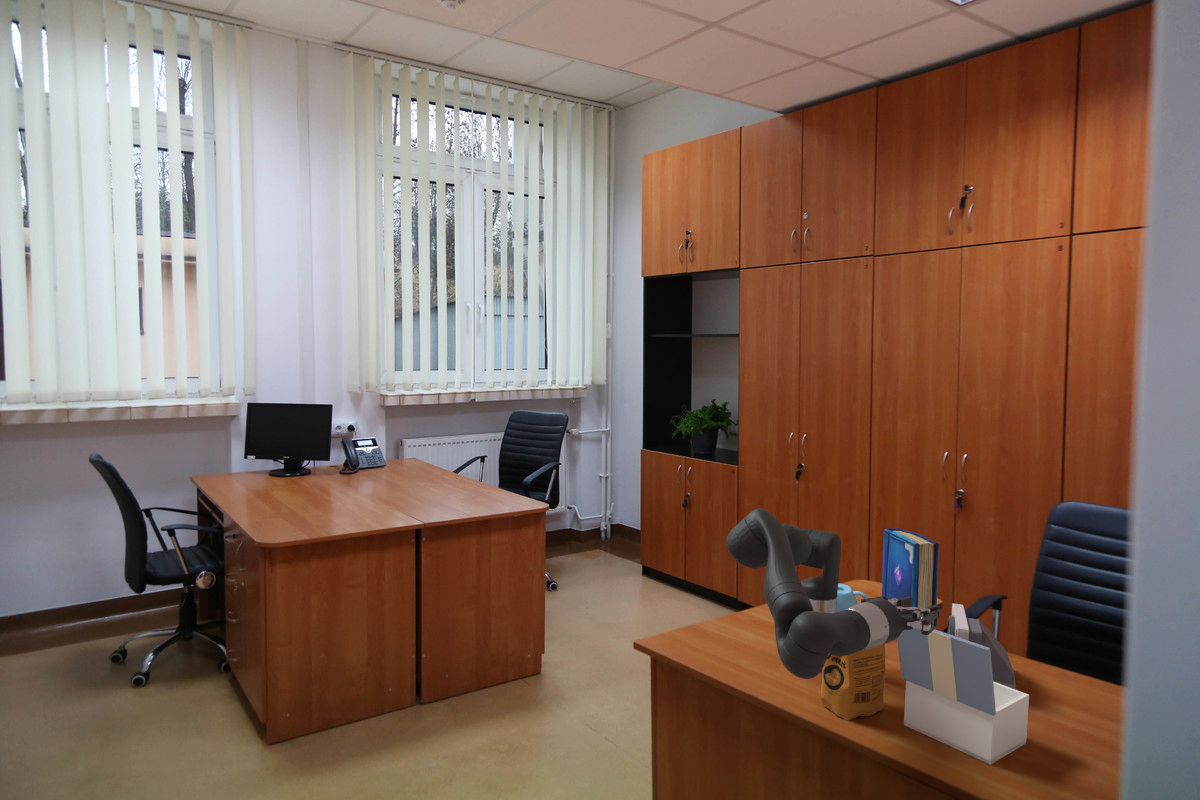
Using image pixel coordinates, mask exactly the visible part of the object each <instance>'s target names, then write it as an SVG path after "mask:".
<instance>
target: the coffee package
mask: <svg viewBox="0 0 1200 800" xmlns="http://www.w3.org/2000/svg"><path fill="white" fill-rule="evenodd" d="M821 672H822V674H821V676H822V677H821V688H820V700H821V705H822V706H823V707H824V708H825V709H826V708H827V709H828V710H830V711H831V712H832V713H834V714H835V716H836V717H839V718H842V719H844V720H846V721H851V720H853V719H856V718H857V717H859V716H860V717H861V716H863V717H871V716H873V715H875V714H876V713H877V712H880V711H883V709H884V694H885V683H886V682H885V680H886V679H885V678H886V643H885V644H882V645H880V646H877V647H874V648H871V649H867V650H861V651H858V652H856V653H853V654H850V655H846V656H835V655H832V654H830V653H829V655H828V658H827V660H826V662H825V665H824V667H823V669H822V671H821Z"/></svg>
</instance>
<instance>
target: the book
mask: <svg viewBox="0 0 1200 800" xmlns="http://www.w3.org/2000/svg"><path fill="white" fill-rule="evenodd" d="M882 541H883V544H882V545H883V546H882V547H883V549H882V571H881V572H882V580H881V597H882V596H886V597H888V600H889V599H890V600H891V599H892V598H896V599H901V598H904V597H911V598H912V607H916V608H918V609H924V608H927V607H930V606H933V605H937V606H938V603H937V601H938V581H939V580H938V576H939V575H938V574H939V549H940V548H939V547H940V546H939V545H940V544H939V543H938V542H936V541H934V540H932V539H930V538H929V537H926V536H925V535H922V534H920V533H918V532H915V531H912V530H911V531H909V530H906V529H903V528H897V527H896V528H895V527H892V528H886V529H884V530H883V540H882ZM912 614H913V612H912ZM921 617H923V614H921V615H920V619H921Z"/></svg>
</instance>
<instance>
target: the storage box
mask: <svg viewBox="0 0 1200 800" xmlns="http://www.w3.org/2000/svg"><path fill="white" fill-rule="evenodd" d="M993 685H994V696H995V708H996V714H995V715H994V716H993V715H990V714H988V713H985V712H983V711H980V710H978V709H975V708H973V707H970V706H968V705H966V704H963V703H961V702H958V701H955V700H952V699H950V698H948V697H945V696H943V695H940V694H938V693H935V692H934V691H931V690H929V689H926V688H924V687H921V686H919V685H917V684H914V683H912V682H909V681H907V680H905V695H904V696H905V697H904V699H905V700H904V715H903V716H904V717H903V725H904V726H905V727H907V728H910V729H912V730H915V731H916V732H918V733H920V734H923V735H926V737H929V738H932V739H934V740H936V741H937V742H939V743H940V742H941V743H943V744H944V745H947V746H949V747H951V748H952V749H955V750H957V751H960V752H962V753H964V754H965V755H968V756H971V757H972V758H975V759H977V760H978V761H981V762H984V763H985V764H987V765H989V766H990V765H992V764H994V763H996V762H997V761H999V760H1001V759H1002V758H1004V757H1006V756H1008V755H1009V754H1010V753H1012V752H1014V751H1015V750H1017V749H1019V748H1021V747H1022V746H1024V745H1026V744H1027V735H1028V721H1029V720H1028V719H1029V703H1030V701H1029V700H1030V694H1028V693H1026V692H1022V691H1020V690H1015V689H1012V688H1010V687H1007V686H1004V685H1001V684H999V683H996V682H993Z"/></svg>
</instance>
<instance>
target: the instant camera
mask: <svg viewBox="0 0 1200 800" xmlns="http://www.w3.org/2000/svg"><path fill="white" fill-rule="evenodd" d="M947 634H950V635H953V636H956V637H959V638H962V639H965V640H968V641H971V642H974V643H977V644H980V645H982V646H985V647H988V648H990V652H991V663H992V674H993V682H996V683H999V684H1001V685H1004V686H1007V687H1010V688H1012V689H1015V690H1018V691H1020V690H1019V687H1018V686H1016V684H1017V683H1016V674H1015V671H1014V668H1013V666H1012V662H1011V660H1010V657H1009V654H1008V652H1007V651H1006V649H1005V648H1004V646H1003V645H1002V644H1001V643H1000V641H999V640H998V639H997V638H996V637H995V636H994V634H993V633H992V632H991V631H990V630H989V629H988V628H987V626H986V625H985V624H984V623H983V622H982V621H981V620H980V619H979V618H971V617H967V615H966V611H965V608H964V605H963V604H960V603H959V604H958V603H953V602H952V603H951V615H948V621H947Z"/></svg>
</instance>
